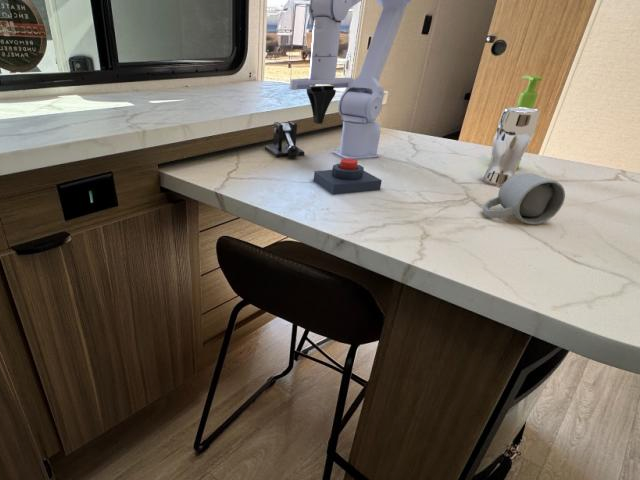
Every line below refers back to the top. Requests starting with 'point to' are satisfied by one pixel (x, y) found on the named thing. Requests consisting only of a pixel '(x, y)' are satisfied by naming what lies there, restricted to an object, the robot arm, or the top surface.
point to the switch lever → (289, 141)
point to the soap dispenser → (529, 94)
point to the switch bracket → (278, 147)
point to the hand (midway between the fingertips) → (317, 123)
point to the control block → (346, 180)
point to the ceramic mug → (527, 199)
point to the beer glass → (510, 142)
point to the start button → (348, 164)
